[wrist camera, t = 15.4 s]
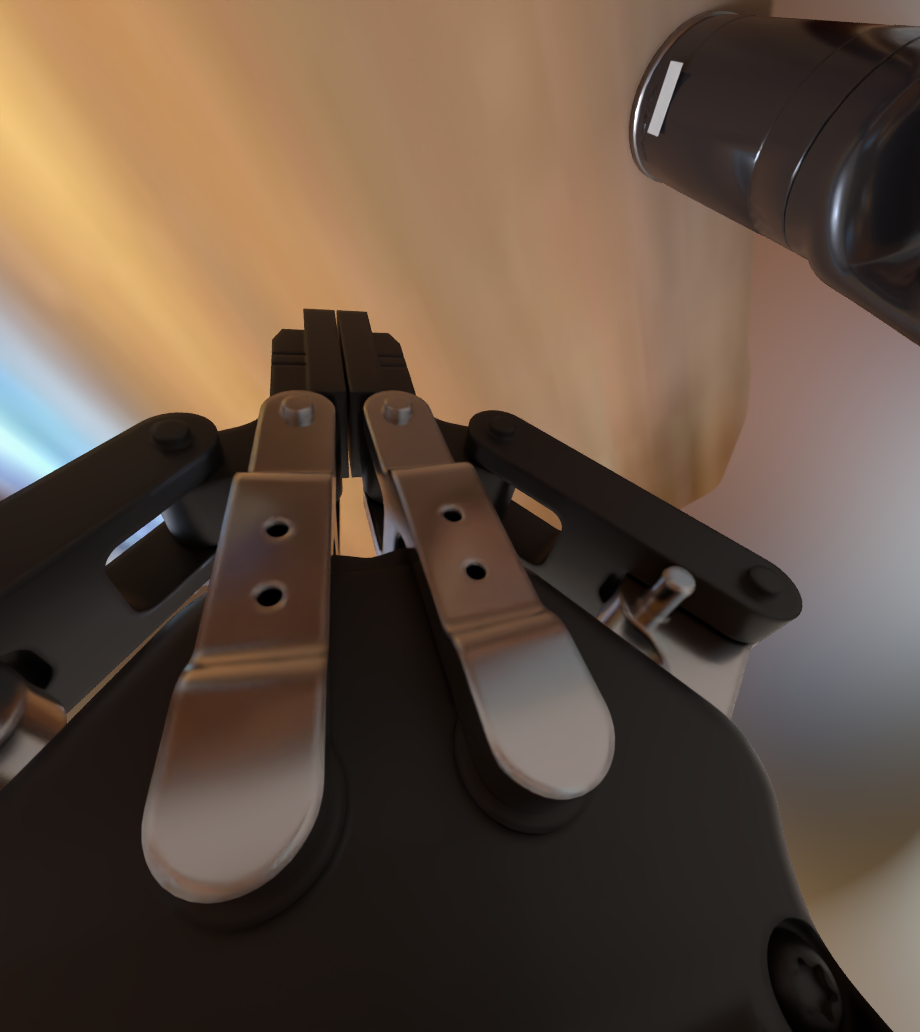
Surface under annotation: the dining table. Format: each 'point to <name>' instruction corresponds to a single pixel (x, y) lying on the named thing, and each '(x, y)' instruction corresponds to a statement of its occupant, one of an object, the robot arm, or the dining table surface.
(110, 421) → the dining table surface
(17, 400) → the dining table surface
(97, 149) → the dining table surface
